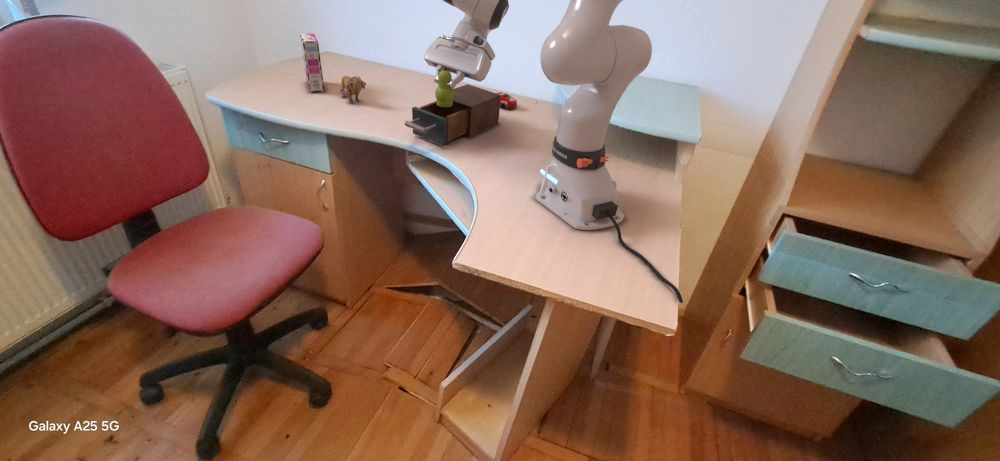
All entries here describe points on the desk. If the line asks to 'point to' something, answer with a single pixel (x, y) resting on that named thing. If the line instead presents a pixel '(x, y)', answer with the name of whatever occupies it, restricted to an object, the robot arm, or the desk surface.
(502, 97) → the race car
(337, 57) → the desk surface
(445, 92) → the pear
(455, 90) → the cabinet
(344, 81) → the lion figurine
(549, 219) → the desk surface
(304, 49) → the candy bar box
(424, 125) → the drawer
